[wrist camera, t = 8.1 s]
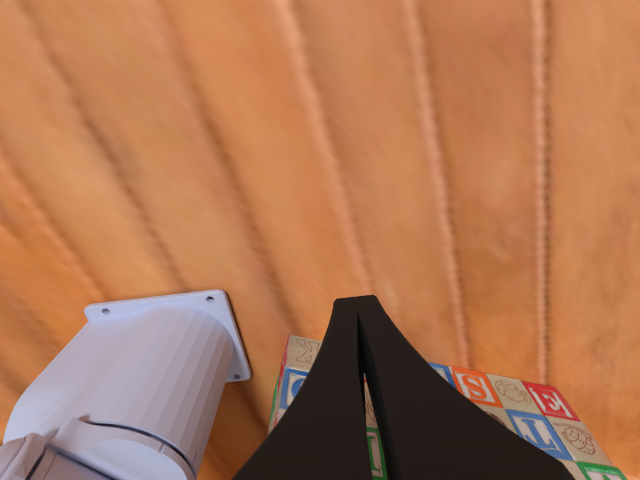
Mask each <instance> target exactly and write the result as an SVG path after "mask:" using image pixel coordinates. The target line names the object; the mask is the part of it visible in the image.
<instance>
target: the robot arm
mask: <svg viewBox="0 0 640 480" xmlns="http://www.w3.org/2000/svg"><path fill="white" fill-rule="evenodd" d="M209 296H210V297H213V299H209V298H208V297H209ZM107 309H108V310H109V311H108V310H107ZM84 313H85V315H86V317H87V319H88V320H89V321H88V322H87V324H86V325H85V326H84V327H83V328H82V329H81V330H80V331H79V332H78V333H77V334H76V336H75V337H74V338H73V339H72V340H71V341H70V342H69V343H68V344H67V345H66V346H65V347H64V349H63V350H62V351H61V352H60V353H59V354H58V355H57V356H56V357H55V358H54V359H53V361H52V362H51V363H50V364H49V365H48V366H47V367H46V368H45V369H44V370H43V371H42V373H41V374H40V375H39V376H38V377H37V378H36V379H35V380H34V381H33V382H32V383H31V384H30V386H29V387H28V388H27V389H26V390H25V392H24V393H23V394H22V395H21V397H20V398H19V400H18V402H17V403H16V405H15V407H14V409H13V411H12V413H11V416H10V418H9V421H8V424H7V427H6V430H5V435H4V442H3V445H2V446H1V447H0V480H196V479H197V476H198V473H199V469H200V466H201V463H202V459H203V456H204V453H205V449H206V446H207V443H208V439H209V436H210V433H211V429H212V426H213V423H214V419H215V416H216V413H217V409H218V406H219V403H220V399H221V396H222V393H223V389H224V386H225V383H226V382H235V381H245V380H248V379H249V378H250V376H251V370H250V367H249V364H248V361H247V358H246V355H245V352H244V348H243V345H242V342H241V339H240V336H239V333H238V330H237V326H236V323H235V320H234V317H233V314H232V311H231V307H230V304H229V301H228V298H227V295H226V293H225V292H224V291H223V290H219V289H216V290H207V291H199V292H190V293H182V294H173V295H164V296H156V297H147V298H139V299H130V300H121V301H113V302H104V303H96V304H90V305H88V306H87V307H86V308H85V309H84ZM236 374H238V375H236ZM364 374H365V378H366V382H367V386H368V390H369V394H370V399H371V403H372V407H373V411H374V415H375V419H376V423H377V427H378V431H379V435H380V440H381V445H382V449H383V454H384V461H385V467H386V473H387V480H576V479H575V478H574V477H573V475H572V474H571V473H570V472H569V470H568V469H567V468H566V466H565V465H564V464H563V463H562V462H561V461H559V460H557V459H556V458H554V457H553V456H551V455H549V454H548V453H546V452H544V451H543V450H541V449H540V448H538V447H536V446H535V445H533V444H531V443H530V442H528V441H527V440H525V439H523V438H522V437H520V436H518V435H517V434H515V433H514V432H513V431H511V430H510V429H508V428H507V427H505V426H504V425H503V424H501V423H500V422H498V421H497V420H495V419H494V418H492V417H491V416H490V415H489V414H487V413H486V412H485V411H483V410H482V409H481V408H480V407H478V406H477V405H476V404H474V403H473V402H472V401H471V400H469V399H468V398H467V397H465V396H464V395H463V394H462V393H460V392H459V391H458V390H457V389H456V388H454V387H453V386H452V385H451V384H450V383H449V382H448V381H446V380H445V379H444V378H443V377H442V376H441V375H440V374H439V373H438V372H437V371H436V370H435V369H434V368H432V367H431V366H430V365H429V364H428V363H427V362H426V360H425V359H424V358H423V357H422V356H421V355H420V354H419V353H418V352H417V351H416V350H415V349H414V348H413V347H412V345H411V344H410V343H409V342H408V341H407V340H406V338H405V337H404V336H403V335H402V333H401V332H400V331H399V330H398V328H397V327H396V326H395V325H394V323H393V322H392V321H391V319H390V318H389V316H388V315H387V314H386V312H385V311H384V309H383V307H382V306H381V304H380V302H379V301H378V299H377V297H376V296H374V295H366V296H358V297H349V298H340V299H336V300H335V301H334V304H333V311H332V315H331V319H330V322H329V325H328V328H327V331H326V334H325V337H324V339H323V342H322V345H321V347H320V349H319V352H318V354H317V356H316V358H315V360H314V363H313V365H312V367H311V369H310V371H309V373H308V375H307V377H306V378H305V380H304V382H303V384H302V386H301V387H300V389H299V391H298V392H297V394H296V396H295V397H294V399H293V400H292V402H291V404H290V405H289V407H288V408H287V410H286V411H285V413H284V414H283V416H282V417H281V419H280V420H279V421H278V423H277V424H276V425H275V427H274V428H273V429H272V431H271V432H270V433H269V435H268V436H267V437H266V439H265V440H264V441H263V443H262V444H261V445H260V446H259V448H258V449H257V450H256V451H255V453H254V454H253V455H252V456H251V457H250V459H249V460H248V461H247V462H246V463H245V464H244V465H243V466H242V468H241V469H240V470H239V471H238V472H237V473H236V474H235V475H234V477H233V478H232V479H231V480H373V477H372V470H371V462H370V455H369V448H368V440H367V426H366V403H365V381H364Z"/></svg>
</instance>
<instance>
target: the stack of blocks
mask: <svg viewBox="0 0 640 480" xmlns="http://www.w3.org/2000/svg"><path fill="white" fill-rule="evenodd" d="M322 342H323V341H319V340H314V339H309V338H304V337H298V336H293V335H289V337H288V341H287V344H286V348H285V352H284V356H283V359H282V363H281V369H280V373H279V376H278V380H277V384H276V387H275V390H274V395H273V401H272V408H271V416H270V422H269V429H268V435H269V433H270V432H271V431H272V429H273V428H274V427H275V425H276V424H277V423H278V421H279V420H280V419H281V417H282V416H283V414H284V413H285V411H286V410H287V408H288V407H289V405H290V404H291V402H292V400H293V399H294V397H295V396H296V394H297V392H298V391H299V389H300V387H301V386H302V384H303V382H304V380H305V378H306V377H307V375H308V373H309V371H310V369H311V367H312V365H313V363H314V360H315V358H316V356H317V354H318V352H319V349H320V347H321V345H322ZM427 363H428V364H429V365H430V366H431V367H432V368H434V369H435V370H436V371H437V372H438V373H439V374H440V375H441V376H442V377H443V378H444V379H445V380H446V381H448V382H449V383H450V384H451V385H452V386H453V387H454V388H456V389H457V390H458V391H459V392H460V393H462V394H463V395H464V396H465V397H467V398H468V399H469V400H471V401H472V402H473V403H474V404H476V405H477V406H478V407H480V408H481V409H482V410H483V411H485V412H486V413H487V414H489V415H490V416H491V417H492V418H494V419H495V420H497V421H498V422H500V423H501V424H503V425H504V426H505V427H507V428H508V429H510V430H511V431H513V432H514V433H515V434H517V435H518V436H520V437H522V438H523V439H525V440H527V441H528V442H530V443H531V444H533V445H535V446H536V447H538V448H540V449H541V450H543V451H544V452H546V453H548V454H549V455H551V456H553V457H554V458H556V459H557V460H559V461H561V462H562V463H563V464H564V465H565V466H566V468H567V469H568V470H569V472H570V473H571V474H572V475H573V477H574V478H575V479H576V480H628V479H627V478H626V477H625V476H624V474H623V473H622V472H621V471H620V470H619V469H618V468H616V467H615V466H614V464H613V463H612V461H611V460H610V458H609V457H608V456H607V454H606V453H605V451H604V450H603V449H602V448H601V446H600V445H599V444H598V442H597V441H596V440H595V438H594V437H593V435H592V434H591V433H590V431H589V430H588V429H587V427H586V426H585V425H584V424H583V423H581V421H580V419H579V418H578V417H577V415H576V414H575V412H574V411H573V410H572V408H571V407H570V405H569V404H568V403H567V401H566V400H565V399H564V397H563V396H562V395H561V393H560V392H559V391H558V390H557V388H556V387H552V386H546V385H540V384H534V383H529V382H524V381H520V380H518V379H514V378H509V377H504V376H499V375H494V374H484V373H482V372H478V371H473V370H468V369H463V368H458V367H453V366H448V367H447V366H444V365H439V364H434V363H429V362H427ZM364 381H365V403H366V426H367V440H368V448H369V455H370V462H371V470H372V477H373V480H387V473H386V467H385V461H384V454H383V449H382V445H381V440H380V435H379V431H378V427H377V423H376V419H375V415H374V411H373V407H372V403H371V399H370V394H369V390H368V386H367V382H366V378H365V374H364ZM268 435H267V436H268Z"/></svg>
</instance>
